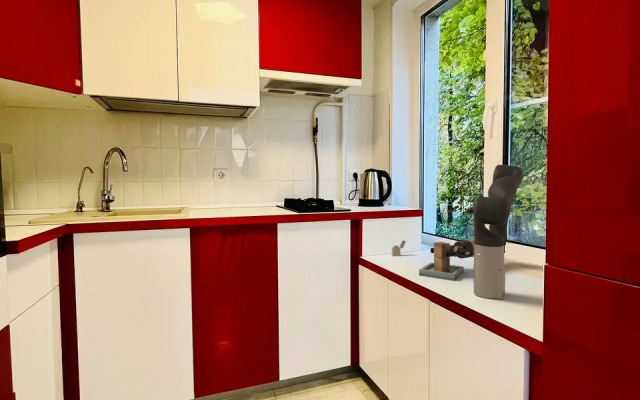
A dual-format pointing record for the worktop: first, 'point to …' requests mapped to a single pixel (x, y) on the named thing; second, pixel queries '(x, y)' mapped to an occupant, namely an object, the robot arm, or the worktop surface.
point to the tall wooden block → (441, 257)
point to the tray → (452, 275)
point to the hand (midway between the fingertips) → (438, 252)
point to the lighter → (397, 249)
